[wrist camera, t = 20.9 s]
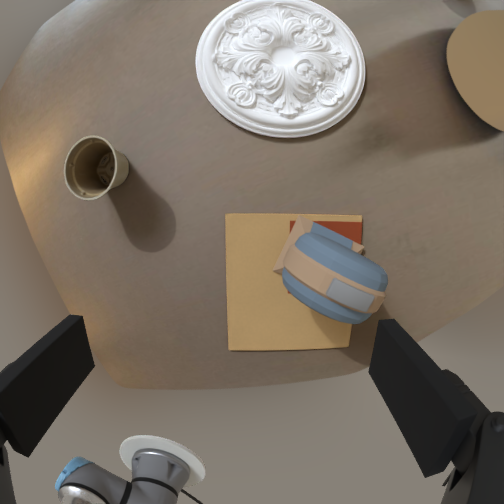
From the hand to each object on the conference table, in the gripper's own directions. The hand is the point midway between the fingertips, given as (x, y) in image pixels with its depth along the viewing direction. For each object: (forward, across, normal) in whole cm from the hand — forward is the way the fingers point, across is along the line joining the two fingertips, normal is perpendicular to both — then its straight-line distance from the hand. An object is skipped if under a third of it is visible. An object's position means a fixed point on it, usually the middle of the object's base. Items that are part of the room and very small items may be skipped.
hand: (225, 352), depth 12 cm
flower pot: (+37, -22, +10) cm, 44 cm away
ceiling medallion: (+37, +6, +28) cm, 47 cm away
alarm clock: (+36, +12, -5) cm, 38 cm away
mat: (+37, +8, -10) cm, 39 cm away
